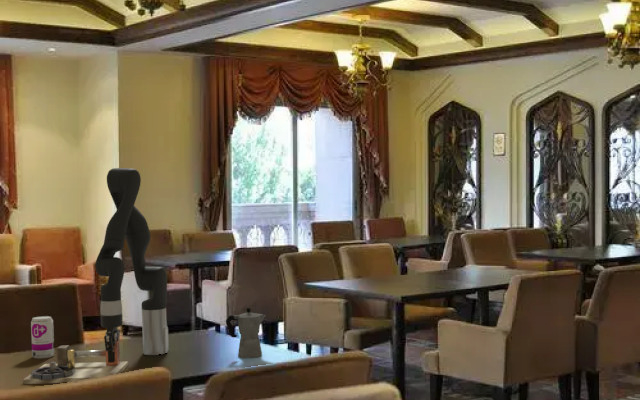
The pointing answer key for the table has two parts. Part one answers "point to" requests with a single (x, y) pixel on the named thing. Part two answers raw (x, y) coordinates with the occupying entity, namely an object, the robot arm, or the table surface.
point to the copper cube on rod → (100, 354)
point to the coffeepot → (247, 333)
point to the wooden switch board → (77, 369)
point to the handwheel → (59, 373)
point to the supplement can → (42, 337)
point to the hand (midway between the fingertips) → (113, 360)
